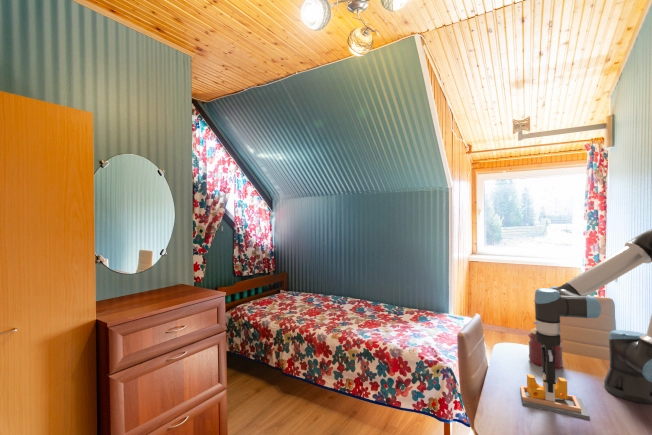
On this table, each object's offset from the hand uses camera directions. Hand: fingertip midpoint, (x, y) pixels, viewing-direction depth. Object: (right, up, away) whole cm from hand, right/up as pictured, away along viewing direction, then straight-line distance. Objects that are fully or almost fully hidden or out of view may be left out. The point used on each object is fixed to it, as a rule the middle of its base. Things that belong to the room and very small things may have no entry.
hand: (548, 396), depth 117 cm
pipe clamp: (0, 0, 0) cm, 1 cm away
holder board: (+1, -2, 0) cm, 2 cm away
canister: (+20, -2, +31) cm, 37 cm away
